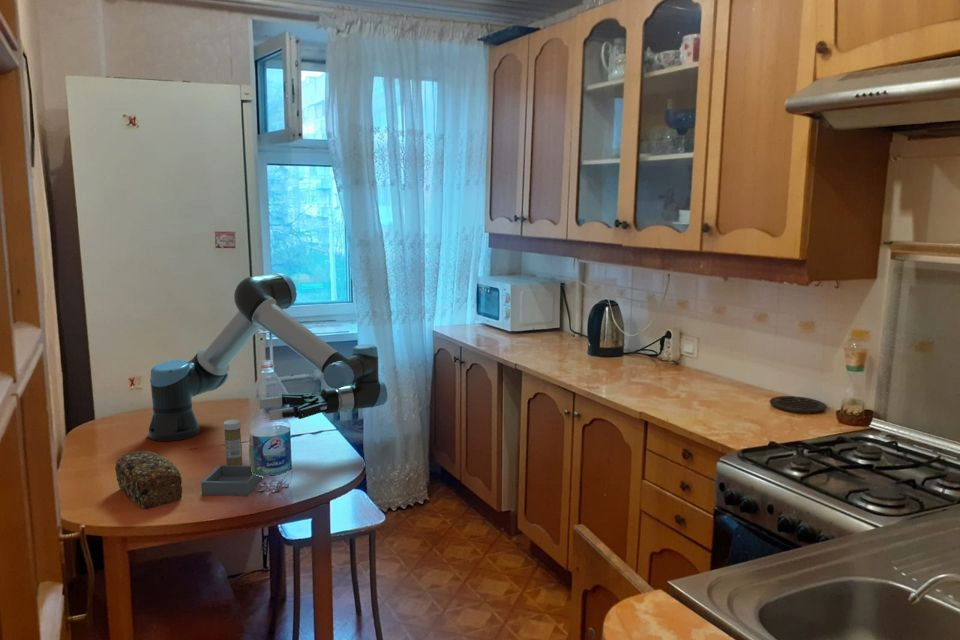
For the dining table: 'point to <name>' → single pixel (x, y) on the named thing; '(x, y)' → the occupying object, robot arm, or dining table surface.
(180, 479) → the bread
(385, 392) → the robot arm
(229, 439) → the sprinkles bottle
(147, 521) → the dining table surface
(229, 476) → the tray
